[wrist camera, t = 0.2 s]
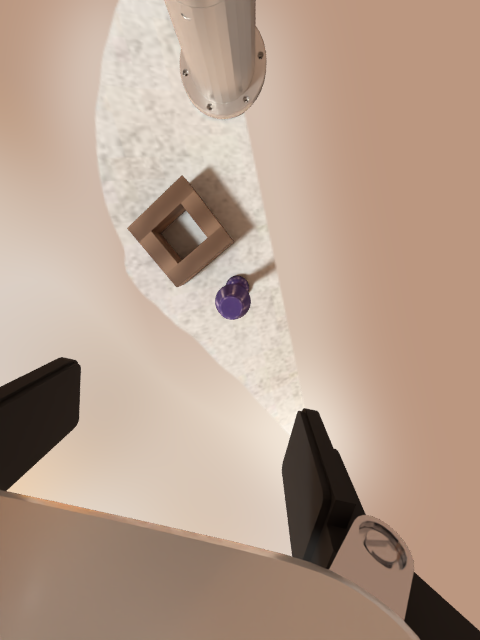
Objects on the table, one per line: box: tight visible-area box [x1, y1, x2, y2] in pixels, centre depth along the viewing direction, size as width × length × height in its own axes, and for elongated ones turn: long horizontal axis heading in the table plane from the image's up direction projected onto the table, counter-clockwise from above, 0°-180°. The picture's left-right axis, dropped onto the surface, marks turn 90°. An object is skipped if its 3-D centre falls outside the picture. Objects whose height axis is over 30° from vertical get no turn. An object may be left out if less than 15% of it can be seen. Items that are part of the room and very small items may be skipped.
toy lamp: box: [215, 276, 251, 320], centre depth 36 cm, size 5×5×17 cm
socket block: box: [127, 176, 234, 287], centre depth 41 cm, size 12×12×4 cm
